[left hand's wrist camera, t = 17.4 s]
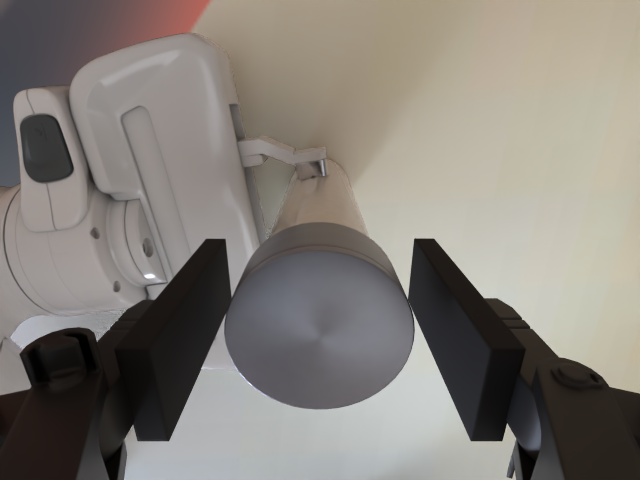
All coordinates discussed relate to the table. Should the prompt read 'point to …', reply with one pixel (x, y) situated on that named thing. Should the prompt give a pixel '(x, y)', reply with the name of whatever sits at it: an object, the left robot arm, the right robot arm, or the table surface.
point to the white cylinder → (320, 202)
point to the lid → (319, 318)
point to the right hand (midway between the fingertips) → (333, 209)
